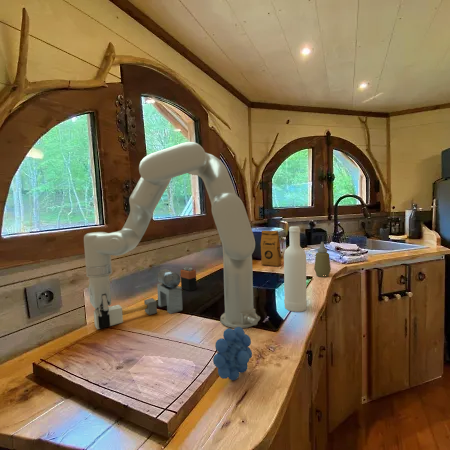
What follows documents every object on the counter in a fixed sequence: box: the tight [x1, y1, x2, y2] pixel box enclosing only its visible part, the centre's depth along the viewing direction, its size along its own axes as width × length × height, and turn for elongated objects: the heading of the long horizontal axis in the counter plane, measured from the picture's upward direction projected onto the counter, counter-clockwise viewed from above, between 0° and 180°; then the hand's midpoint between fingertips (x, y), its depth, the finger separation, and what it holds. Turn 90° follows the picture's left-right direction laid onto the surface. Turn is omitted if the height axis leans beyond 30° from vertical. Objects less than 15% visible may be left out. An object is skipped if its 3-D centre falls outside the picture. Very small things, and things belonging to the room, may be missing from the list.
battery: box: [180, 266, 198, 292], centre depth 124 cm, size 4×7×10 cm, turn 45°
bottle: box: [283, 225, 308, 313], centre depth 96 cm, size 8×8×30 cm
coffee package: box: [260, 230, 282, 267], centre depth 167 cm, size 10×12×22 cm
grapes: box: [212, 327, 253, 381], centre depth 57 cm, size 12×7×12 cm, turn 136°
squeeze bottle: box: [313, 241, 332, 278], centre depth 138 cm, size 8×8×18 cm
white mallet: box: [93, 297, 158, 330], centre depth 92 cm, size 4×20×5 cm, turn 127°
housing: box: [156, 268, 183, 315], centre depth 101 cm, size 11×6×14 cm, turn 37°
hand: (103, 324), depth 87 cm, fingers closed on white mallet, 3 cm apart
